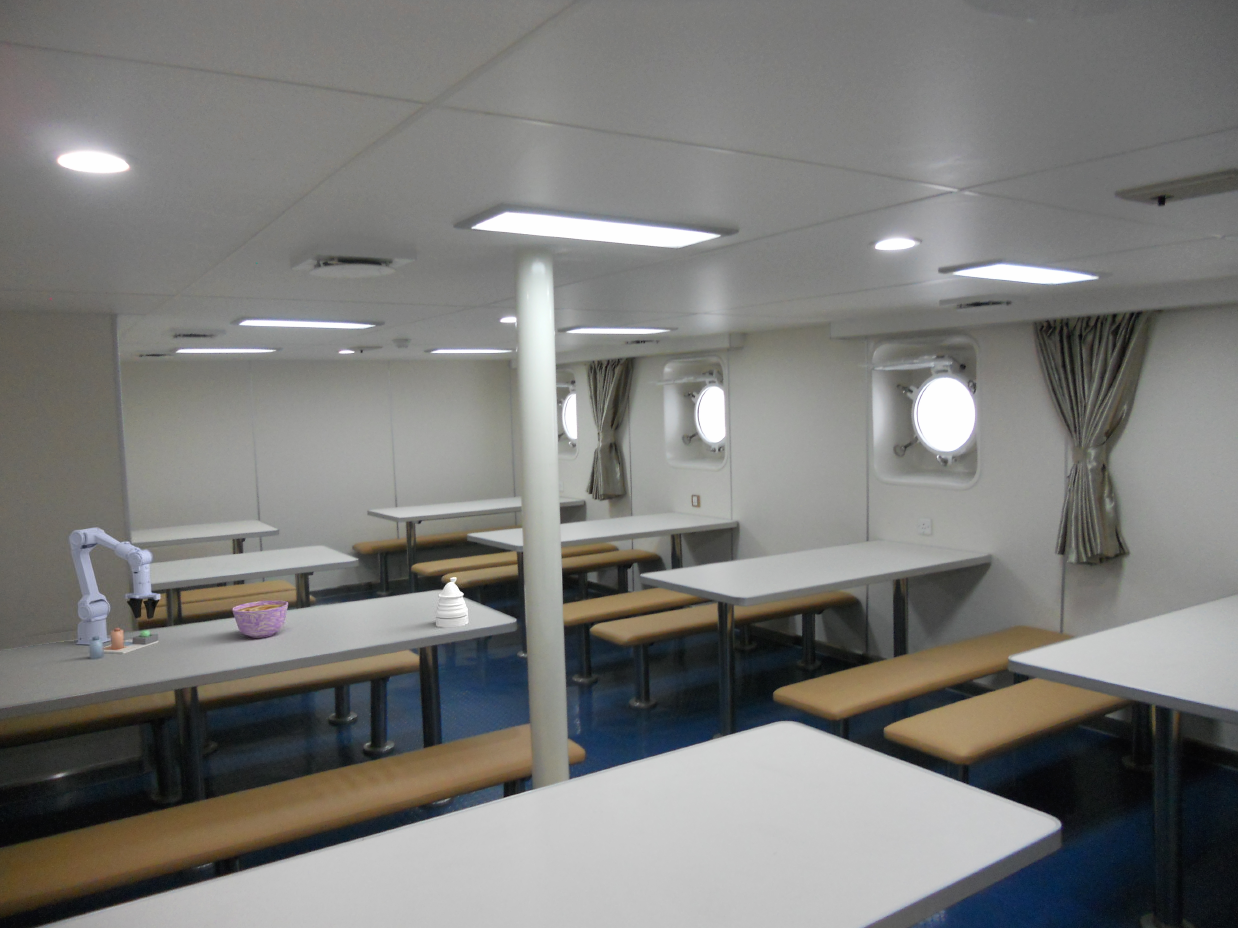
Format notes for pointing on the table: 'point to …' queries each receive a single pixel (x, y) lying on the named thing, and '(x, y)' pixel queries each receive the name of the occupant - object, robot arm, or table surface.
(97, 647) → the slate marker
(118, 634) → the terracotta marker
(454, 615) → the honey pot
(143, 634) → the button
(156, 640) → the picture board
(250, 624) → the bowl of food
